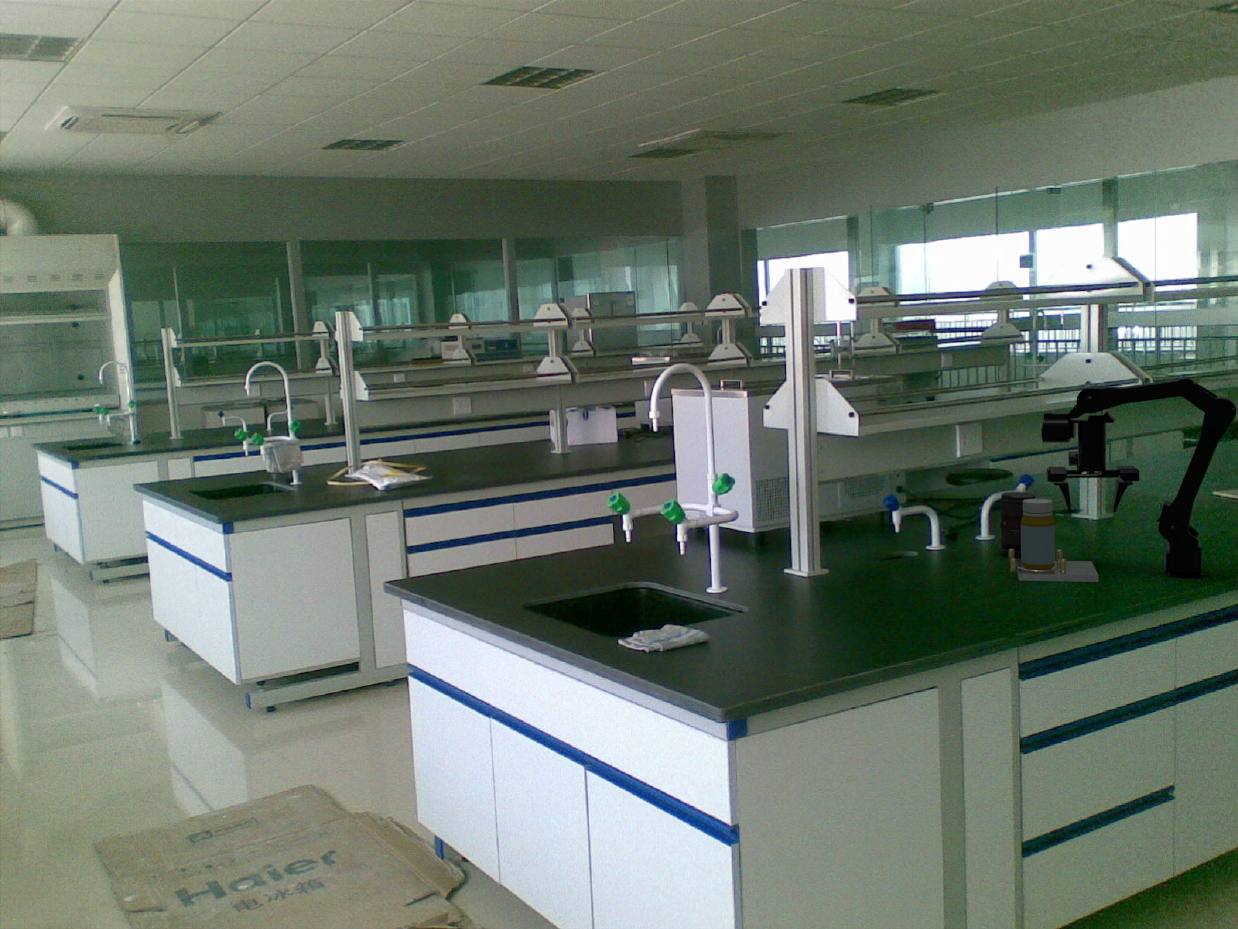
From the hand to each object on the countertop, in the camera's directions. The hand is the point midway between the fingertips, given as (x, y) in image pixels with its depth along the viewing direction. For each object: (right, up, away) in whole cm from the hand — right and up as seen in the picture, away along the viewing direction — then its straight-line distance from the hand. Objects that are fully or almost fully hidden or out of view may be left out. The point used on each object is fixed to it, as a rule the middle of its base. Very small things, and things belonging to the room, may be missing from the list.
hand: (1091, 512), depth 243 cm
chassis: (-9, -14, -2) cm, 16 cm away
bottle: (-13, -12, -1) cm, 18 cm away
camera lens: (-9, -12, +19) cm, 24 cm away
